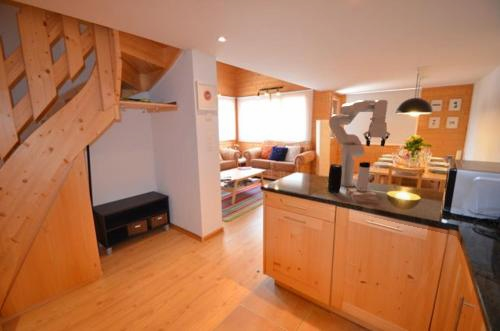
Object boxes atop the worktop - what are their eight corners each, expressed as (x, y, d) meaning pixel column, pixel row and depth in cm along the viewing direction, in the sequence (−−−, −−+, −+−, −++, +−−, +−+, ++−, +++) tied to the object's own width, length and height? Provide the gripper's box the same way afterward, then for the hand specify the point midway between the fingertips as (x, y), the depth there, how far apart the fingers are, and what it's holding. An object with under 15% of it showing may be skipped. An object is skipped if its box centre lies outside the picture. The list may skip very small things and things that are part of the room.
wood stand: (345, 194, 157) (346, 187, 156) (365, 194, 157) (366, 188, 156) (355, 202, 144) (356, 194, 142) (377, 202, 144) (378, 195, 143)
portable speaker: (332, 194, 158) (335, 166, 154) (324, 189, 167) (326, 164, 163) (343, 193, 161) (345, 166, 156) (334, 188, 170) (337, 163, 165)
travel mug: (361, 193, 146) (365, 162, 141) (354, 190, 152) (357, 160, 147) (369, 192, 147) (373, 162, 143) (361, 189, 154) (365, 160, 149)
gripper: (368, 119, 142) (365, 146, 146) (395, 120, 143) (391, 146, 146) (362, 119, 150) (359, 145, 153) (388, 119, 150) (384, 145, 154)
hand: (375, 146), depth 150 cm, fingers open, 9 cm apart
